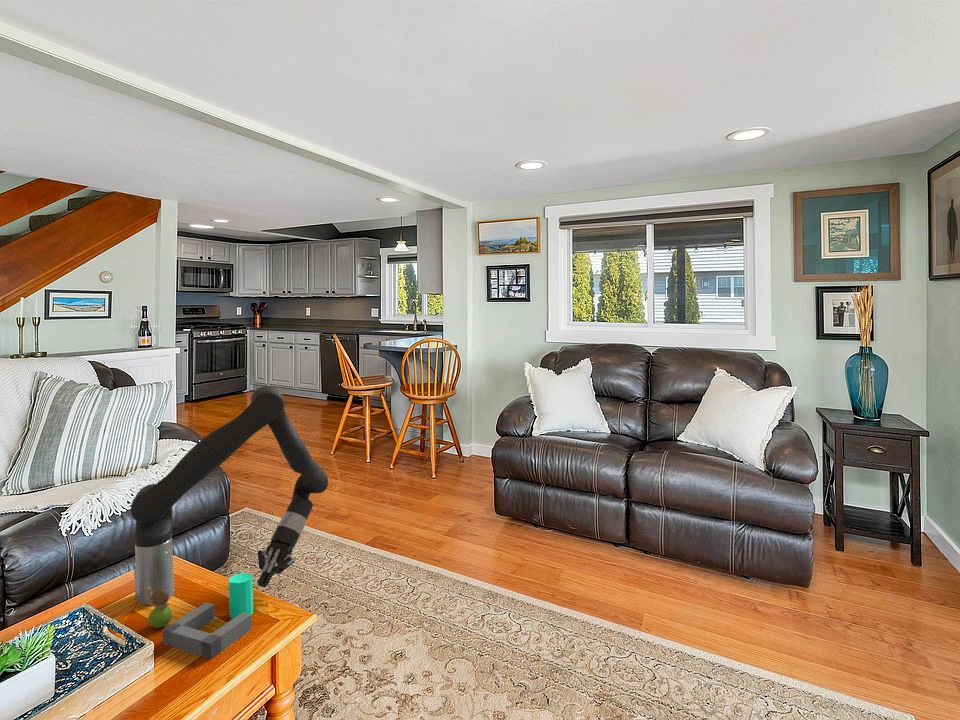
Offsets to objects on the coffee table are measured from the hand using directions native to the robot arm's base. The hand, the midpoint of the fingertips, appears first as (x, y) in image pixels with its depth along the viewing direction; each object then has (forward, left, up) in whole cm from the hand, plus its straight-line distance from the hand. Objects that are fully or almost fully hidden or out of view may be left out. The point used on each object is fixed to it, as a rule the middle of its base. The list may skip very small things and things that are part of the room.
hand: (261, 586), depth 151 cm
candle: (0, -8, -4) cm, 9 cm away
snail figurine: (-16, -20, -4) cm, 26 cm away
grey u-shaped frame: (0, -19, -4) cm, 19 cm away
